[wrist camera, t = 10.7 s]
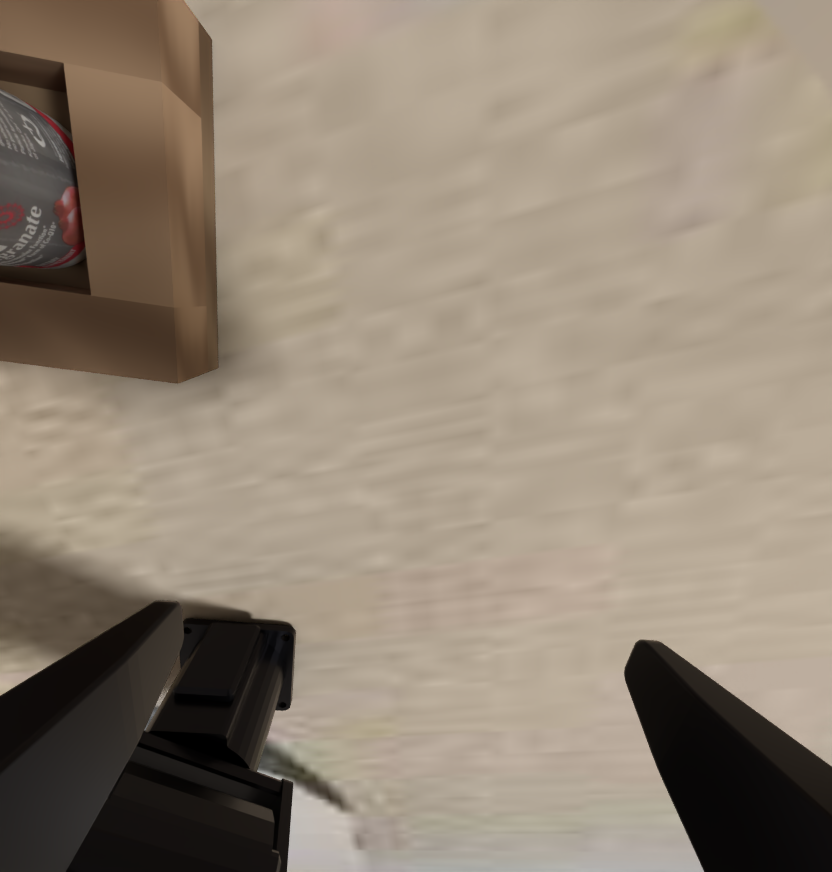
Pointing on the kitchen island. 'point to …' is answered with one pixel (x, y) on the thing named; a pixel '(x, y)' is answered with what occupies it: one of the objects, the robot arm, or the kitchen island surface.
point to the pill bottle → (37, 190)
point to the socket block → (120, 188)
